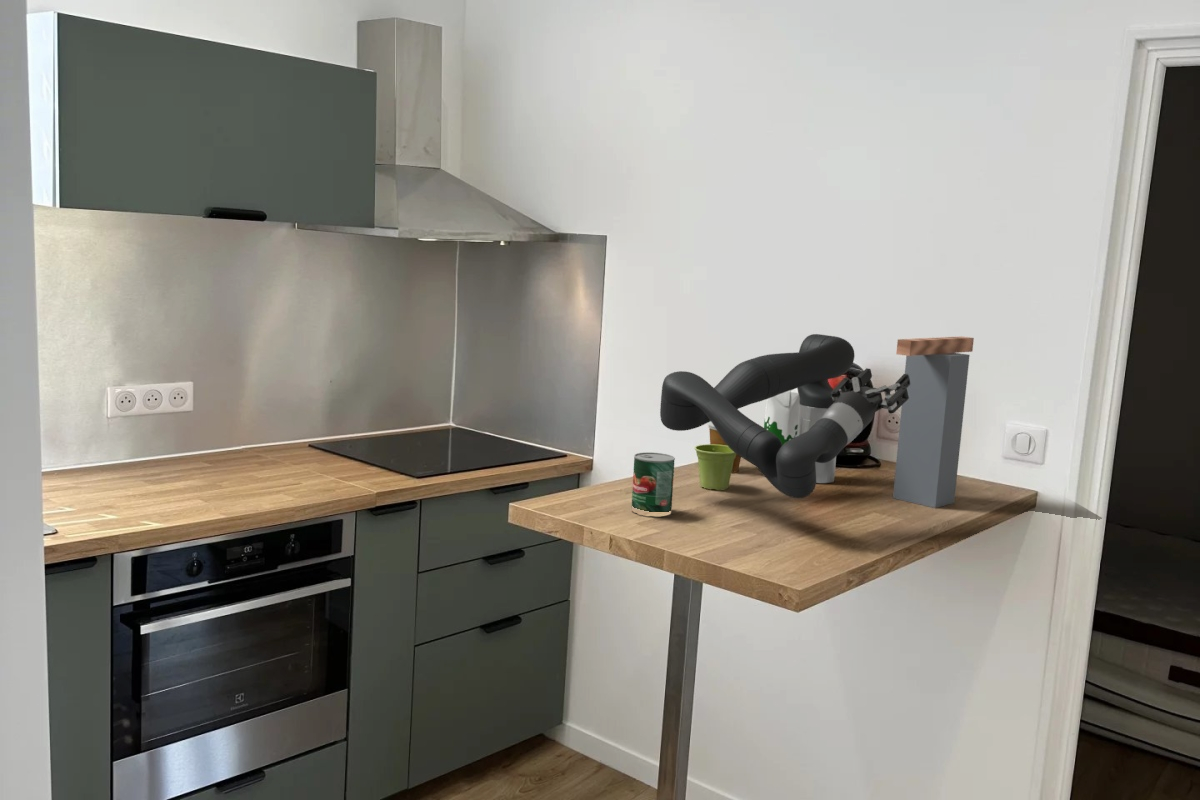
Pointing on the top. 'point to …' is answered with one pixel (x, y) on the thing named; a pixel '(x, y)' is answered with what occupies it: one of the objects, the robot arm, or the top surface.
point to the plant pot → (715, 465)
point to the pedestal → (931, 429)
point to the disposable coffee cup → (718, 440)
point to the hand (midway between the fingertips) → (888, 374)
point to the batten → (934, 345)
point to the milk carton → (783, 415)
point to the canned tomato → (653, 482)
